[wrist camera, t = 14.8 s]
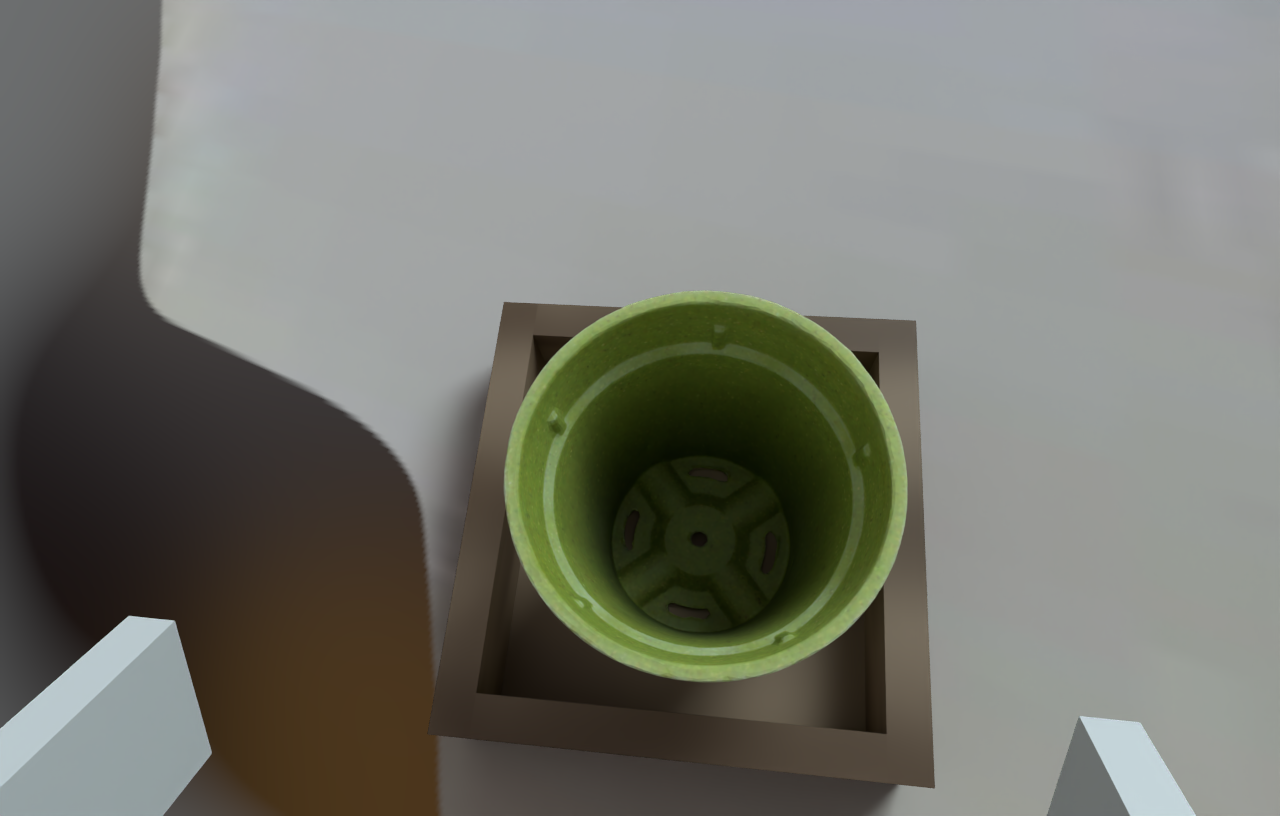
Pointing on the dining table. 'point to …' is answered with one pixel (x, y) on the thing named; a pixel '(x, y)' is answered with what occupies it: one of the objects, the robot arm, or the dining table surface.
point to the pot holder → (674, 709)
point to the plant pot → (706, 486)
